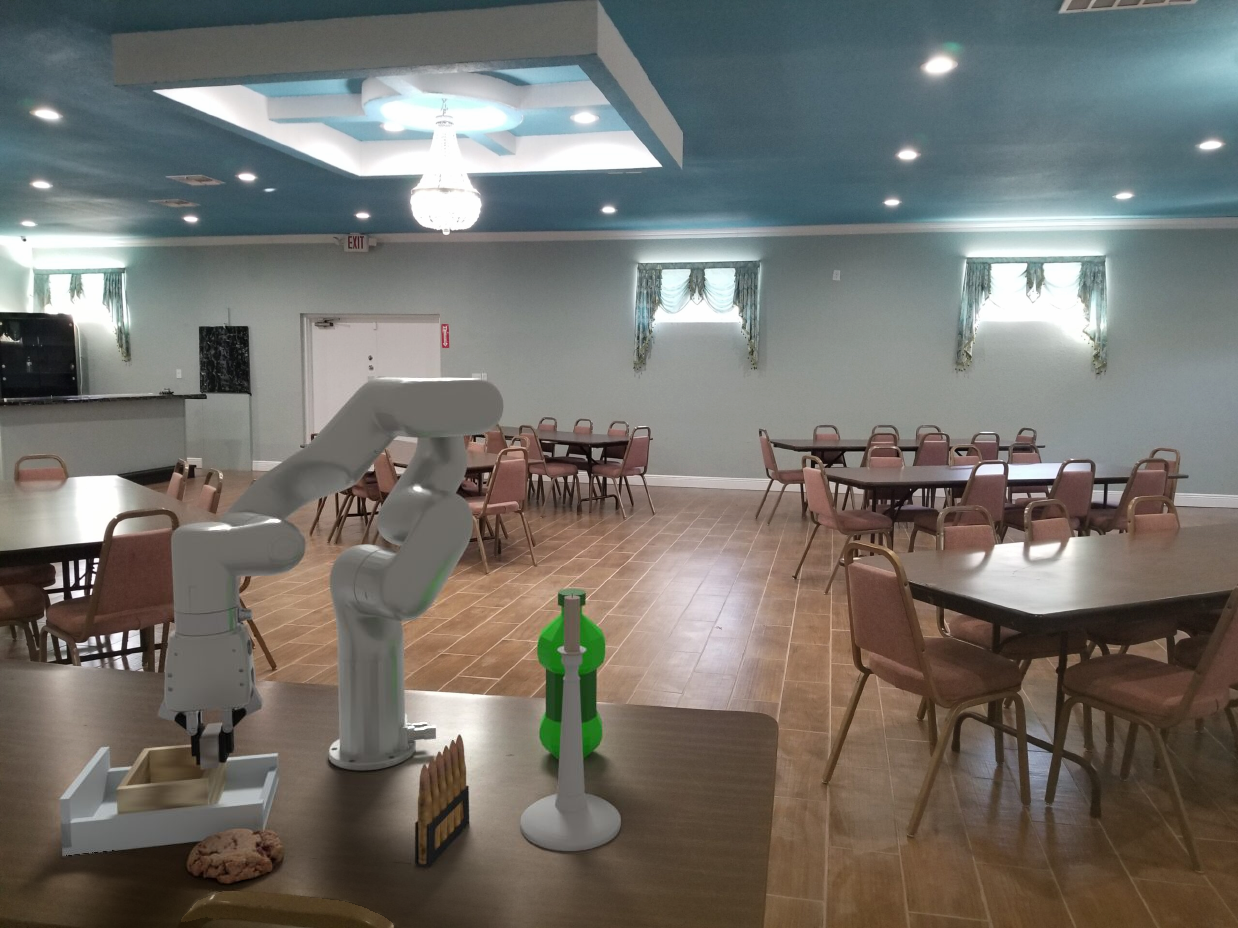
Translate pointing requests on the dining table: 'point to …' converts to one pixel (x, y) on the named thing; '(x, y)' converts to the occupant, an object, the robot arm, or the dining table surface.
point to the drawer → (174, 777)
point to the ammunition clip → (441, 804)
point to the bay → (102, 829)
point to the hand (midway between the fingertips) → (213, 758)
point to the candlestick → (571, 768)
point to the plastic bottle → (555, 673)
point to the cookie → (236, 855)
